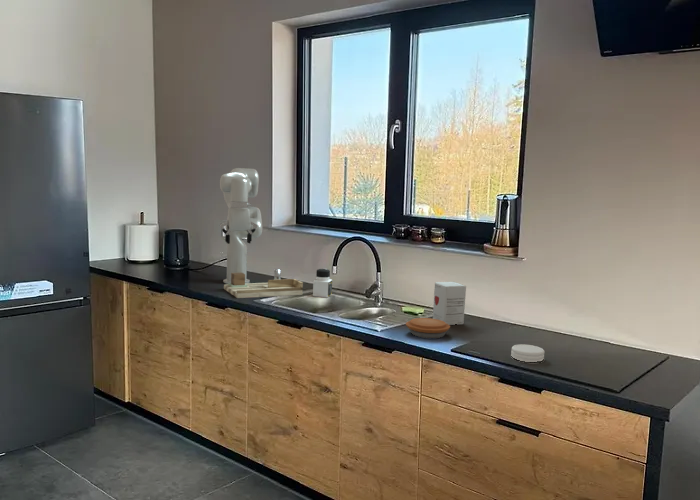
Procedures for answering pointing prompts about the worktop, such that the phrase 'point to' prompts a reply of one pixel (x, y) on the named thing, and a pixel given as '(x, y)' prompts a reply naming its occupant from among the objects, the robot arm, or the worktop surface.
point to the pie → (427, 327)
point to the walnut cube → (237, 279)
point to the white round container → (527, 353)
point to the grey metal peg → (277, 274)
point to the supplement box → (449, 302)
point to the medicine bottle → (322, 283)
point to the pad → (237, 285)
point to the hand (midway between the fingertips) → (238, 243)
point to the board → (268, 289)
